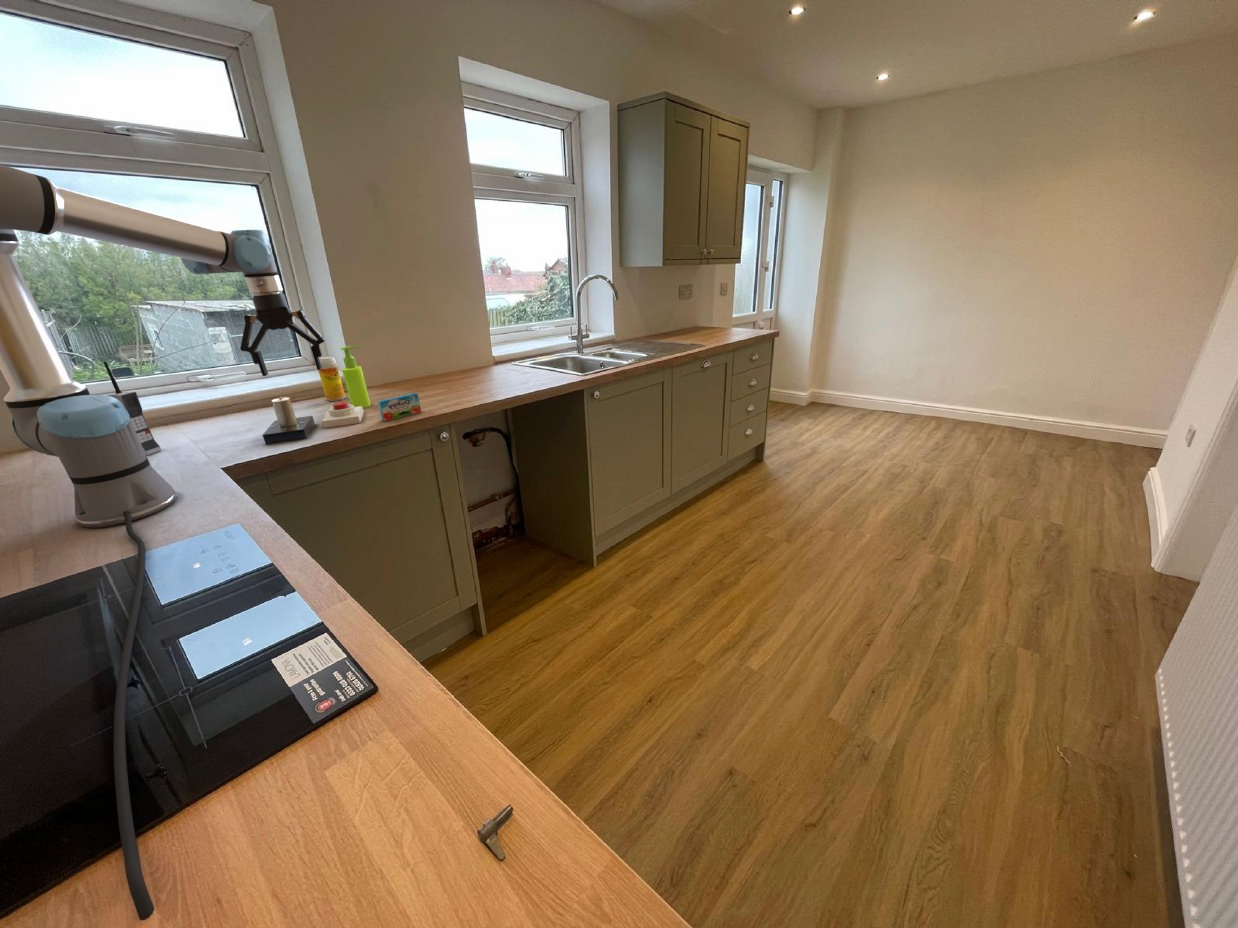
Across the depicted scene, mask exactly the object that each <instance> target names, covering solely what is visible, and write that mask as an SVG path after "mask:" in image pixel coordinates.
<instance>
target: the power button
mask: <svg viewBox="0 0 1238 928" xmlns="http://www.w3.org/2000/svg"><path fill="white" fill-rule="evenodd" d="M348 405H349V403H348V402H347V401H339V402H338V401H337V402H335V403H332V407H334V410H342V409H346V408H349V407H348Z"/></svg>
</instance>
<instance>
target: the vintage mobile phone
mask: <svg viewBox="0 0 1238 928" xmlns="http://www.w3.org/2000/svg"><path fill="white" fill-rule="evenodd" d="M102 363H103V365H104V367H105V369H106V372H107V374H108V376H109V378H110V381H111V385H112V387H113V388H114V390H115V392H113V393H109V394H106V396H110V397H114V398H116V399H118V400H119V401H120V402H121V403H122V404H123V406H124V408H125V409H126V410H127V412H128V413H129V415H130V416H129V417H130V420H131V422H132V425H133V427H134V429H135V431H136V434H137V436H138V438H139V440H140V443H141V445H142V447H143V449H144V452H145V454H146V456H150V455H153V454H156V453H158V452H161V451H162V448H161V446H160V445H159V443H158V442H157V441H156V440H155V437H154V436H153V433H152V431H151V429H150V426H149V425H148V422H147V420H146V417H145V415H144V413H143V407H142V404H141V402H140V399H139V395H138V394H137V392H136V391H129V390H128V391H122V390H121V389H120V387H119V384H118V382H117V379H115V377H114V375H113V372H112V371H111V369H110V366H109V364H108V362H107V361H103V362H102Z"/></svg>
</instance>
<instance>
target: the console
mask: <svg viewBox="0 0 1238 928" xmlns="http://www.w3.org/2000/svg"><path fill="white" fill-rule="evenodd" d="M296 420H297V424H295V425H293V426H288V427H280V425H279V422H278V419H276V420H274V421H273V422H272V423H271V424H270V425H269V426H268V427H267V429H266V430H265V431H264V432H263V434H262V438H263V441H264V444H265V446H266V445H267V446H268V445H269V446H270V445H275V444H283V443H288V442H289V443H291V442H295V441H297V442H298V441H303V440H307V439H308V438H309V436H310V434H311V433H312V431H313V430H314V428H315V426H316V422H315V419H314V416H313V415H308V416H307V415H305V416H298V417H296Z"/></svg>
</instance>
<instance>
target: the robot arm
mask: <svg viewBox="0 0 1238 928" xmlns="http://www.w3.org/2000/svg"><path fill="white" fill-rule="evenodd" d="M15 231H24V232H30V233H35V234H41V235H45V236H51V235H52V234H55V233H56V232H57V233H62V234H63V233H64V234H67V235H72V236H77V237H81V238H82V237H83V238H87V239H92V240H96V241H101V242H105V243H110V244H114V245H115V244H116V245H119V246H124V247H129V248H134V249H138V250H143V251H148V252H153V253H157V254H162V255H167V256H169V257H170V256H171V257H176V258H179V259H180V260H181V263H182V264H183V266H184V267H185V268H186V270H188V271H189V272H190V273H192V274H194V275H211V274H224V273H225V274H228V273H243V276H244V279H245V282H246V285H247V288H248V291H249V293H250V294H253V295H252V296H251V300H252V302H253V306H254V309H255V312H256V314H250V313H247V314H245V315H243V320H244V328H243V333H242V338H241V342H240V346H239V347H240V348H239V350H240V351H241V352H247V353H249V354H250V356H251V359H252V363H254V365H258V366H259V369H260V373H261V375H262V377H267V376H268V375H269V371H268V369H267V366H266V362H265V360H264V358H263V355H262V352H261V350H258V348H259V346H260V344H261V343H262V341H263V339H264V338H265V336H266V335H267V332H268V331H269V330H270V331H276V330H285V329H287V328H288V329H289V330H291V331H293V332H294V333H295V334H297V335H298V336H300V337H301V338H303V339H304V340H305V341H306V342H308V343H309V344H311V345H310V351H311V353H312V357H313V361H314V364H315V366H316V370H317V371H318V370H319V369H321V368H322V367H321V363H320V360H319V357H323V353H322V350H321V346H320V345H321V344H323V343H324V342H325V341H326V339H325V337H324V336H323V335H322V334H321V333H320V331H319V330H318V329H317V328H316V327H315V326H314V325H313V323H312V322H311V321H310V320H309V319H308V318H307V317H306V314H305V312H304V310H303V309H298V310H295V311H291V309H290V308H289V304H288V301H287V298H286V295H285V294H284V293H283V291H284V289H283V286H282V285H283V284H282V282H281V279H280V276H279V273H278V270H277V266H276V263H275V260H274V257H273V253H272V248H271V246H270V243H269V241H268V238H267V236H266V234H265V233H264V232H263V230H260V229H238V230H237V229H236V230H231V231H230V233H228V232H224V231H220V230H217V229H213V228H209V227H206V226H203V225H198V224H195V223H191V222H188V221H184V220H181V219H177V218H173V217H169V216H166V215H163V214H162V215H161V214H158V213H155V212H151V211H147V210H143V209H140V208H136V207H132V206H128V205H125V204H121V203H118V202H114V201H111V200H107V199H103V198H100V197H96V196H92V195H88V194H85V193H81V192H78V191H74V190H70V189H68V188H67V189H66V188H64V187H59V186H56V184H54V183H53V182H52V181H51V180H50V179H49V178H48V177H45V176H42V175H38V174H35V173H31V172H28V171H24V170H21V169H18V168H14V167H11V166H7V165H4V164H1V163H0V371H1V373H2V375H3V378H4V379H5V382H6V383H7V385H8V387H9V391H8V392H7V393H6V395H5V396H4V397H3V401H4V403H5V405H6V407H7V409H8V410H9V412H10V414H11V419H10V420H11V422H10V424H11V429H12V432H13V433H14V435H15V437H16V438H17V439H18V440H19V441H20V442H21V443H22V444H23V445H25V446H26V447H28V448H30V449H31V450H33V451H36V452H37V453H40V454H45V455H47V456H52V457H56V458H58V459H59V460H60V463H61V464H62V466H63V468H64V471H65V472H66V474H67V476H68V477H69V479H70V481H71V484H72V485H73V489H74V490H73V491H74V514H75V519H76V520H77V522H78V524H79V526H81V527H82V528H86V529H87V528H88V529H96V528H97V529H98V528H99V529H100V528H107V527H113V526H118V525H119V526H120V525H123V524H124V525H125V530H126V533H127V535H128V537H129V538H130V539H131V540H132V541H134V543H136V545H137V549H138V551H137V552H138V553H137V571H136V572H137V573H136V581H135V587H134V593H133V598H132V603H131V607H130V612H129V618H128V622H127V627H126V633H125V636H124V642H123V646H122V652H121V658H120V662H119V669H118V677H117V684H116V691H115V692H116V693H115V702H114V715H113V771H114V772H113V774H114V785H115V786H114V787H115V789H114V790H115V798H116V799H115V800H116V810H117V820H118V821H117V822H118V828H119V836H120V843H121V848H122V854H123V861H124V869H125V876H126V882H127V886H128V888H129V893H130V895H131V899H132V901H133V905H134V907H135V910H136V912H137V916H138V918H139V920H140V921H146V920H148V919H149V918H150V917H151V916H152V915H153V913H154V912H155V907H154V904H153V901H152V898H151V896H150V893H149V891H148V888H147V887H148V886H147V885H146V882H145V878H144V874H143V870H142V864H141V859H140V853H139V847H138V843H137V838H136V832H135V826H134V819H133V818H134V817H133V811H132V803H131V793H130V785H129V777H128V764H127V745H126V743H127V742H126V741H127V740H126V715H127V712H126V711H127V694H128V682H129V674H130V673H129V672H130V668H131V659H132V653H133V647H134V641H135V635H136V629H137V624H138V619H139V615H140V609H141V602H142V597H143V592H144V591H143V590H144V583H145V575H146V546H145V542H144V541H143V539H142V538H141V537H140V536H138V535H137V534H136V533H135V532H134V528H133V523H132V522H134V521H137V520H140V519H143V518H147V517H149V516H151V515H153V514H156V513H159V512H161V511H163V510H165V509H167V508H168V507H170V506H171V505H172V504H173V503H175V502H176V501H177V499H178V495H177V493H176V491H175V489H174V488H173V486H172V485H171V484H169V483H168V481H166V479H165V478H164V477H162V475H160V474H159V473H158V471H156V470H155V469H154V467H152V465H151V463H150V461H149V458H148V455H146V454H145V452H144V449H143V447H142V445H141V443H140V440H139V438H138V436H137V434H136V431H135V429H134V427H133V425H132V422H131V420H130V417H129V416H130V415H129V413H128V412H127V410H126V409H125V408H124V406H123V404H122V403H121V402H120V401H119V400H118V399H116V398H114V397H110V396H107V395H104V394H96V395H92V394H91V393H90V391H89V389H88V387H87V385H86V384H82V383H80V382H78V381H76V380H74V379H73V378H72V376H71V374H70V371H69V370H68V368H67V365H66V363H65V361H64V359H63V357H62V355H61V353H60V350H59V348H58V347H57V344H56V342H55V340H54V337H53V336H52V334H51V332H50V330H49V327H48V325H47V323H46V321H45V319H44V316H43V314H42V313H41V311H40V308H39V306H38V304H37V302H36V299H35V298H34V296H33V294H32V292H31V290H30V287H29V285H28V283H27V281H26V279H25V277H24V275H23V272H22V270H21V268H20V266H19V264H18V262H17V260H16V257H15V256H14V252H15V251H16V250H17V249H18V247H19V246H20V245H21V242H20V241H19V238H18V237H17V235H16V232H15ZM294 317H295V319H297V320H299V321H300V322H301V324H303V326H305V327H306V329H307V330H308V331H309V332H310V333H311V334H312V335H313V336H314V337H313V336H312V335H311V334H309V333H308V332H306V331H305V330H304V329H302V328H301V327H299V325H297V324H296V323H295V322H293V321H292V320H293V318H294ZM256 321H258V322H260V324H262V325H261V326H260V328H259V331H258V333H257V334H256V336H255V337H254V339H253V342H252V343H251V345H250V341H251V336H252V331H253V327H254V324H255V323H256Z"/></svg>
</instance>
